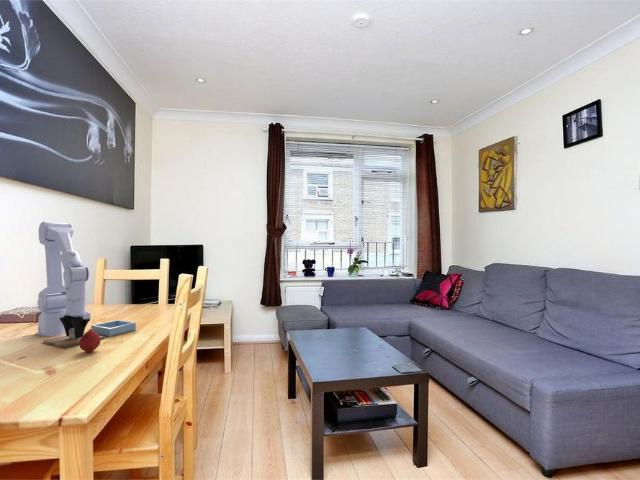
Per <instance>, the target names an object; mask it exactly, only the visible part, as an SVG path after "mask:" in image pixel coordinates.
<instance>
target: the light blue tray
mask: <svg viewBox="0 0 640 480" xmlns="http://www.w3.org/2000/svg"><path fill="white" fill-rule="evenodd" d="M136 327H137V322H133V321H127V320H123V319H122V320H121V319H116V320H112V321H106V322H102V323H101V322H100V323H96V324H92V325H91V326H90V329H91V328H92V329H93V331H94V332H96V333H97V334H98V335H99V336H103V337H107V338H111V337H115V336H119V335H123V334H128V333H131V332H136V329H137V328H136Z"/></svg>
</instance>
